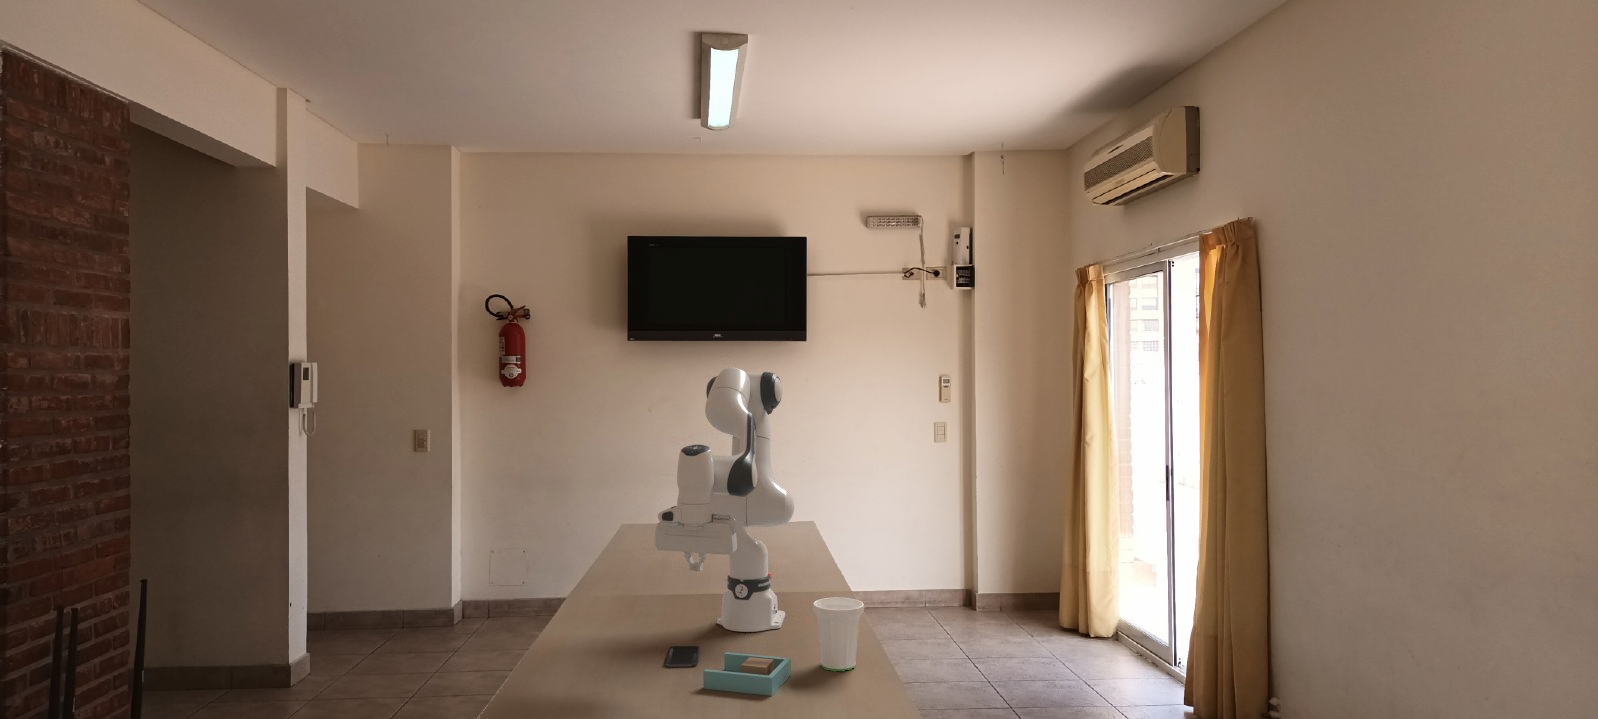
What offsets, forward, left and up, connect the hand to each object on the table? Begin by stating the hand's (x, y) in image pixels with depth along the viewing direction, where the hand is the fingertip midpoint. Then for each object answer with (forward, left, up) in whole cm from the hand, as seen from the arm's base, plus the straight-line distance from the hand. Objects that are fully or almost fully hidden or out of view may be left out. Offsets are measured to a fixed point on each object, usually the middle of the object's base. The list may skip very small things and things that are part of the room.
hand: (695, 570), depth 222 cm
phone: (-8, -7, -25) cm, 27 cm away
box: (+4, +14, -24) cm, 28 cm away
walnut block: (+4, +17, -24) cm, 30 cm away
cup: (-13, +32, -24) cm, 42 cm away
